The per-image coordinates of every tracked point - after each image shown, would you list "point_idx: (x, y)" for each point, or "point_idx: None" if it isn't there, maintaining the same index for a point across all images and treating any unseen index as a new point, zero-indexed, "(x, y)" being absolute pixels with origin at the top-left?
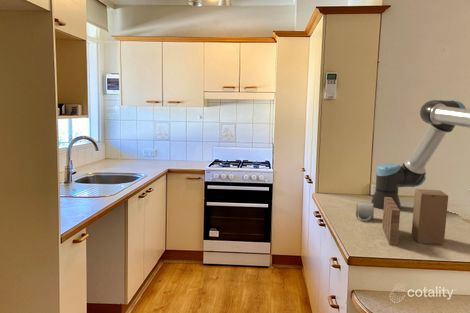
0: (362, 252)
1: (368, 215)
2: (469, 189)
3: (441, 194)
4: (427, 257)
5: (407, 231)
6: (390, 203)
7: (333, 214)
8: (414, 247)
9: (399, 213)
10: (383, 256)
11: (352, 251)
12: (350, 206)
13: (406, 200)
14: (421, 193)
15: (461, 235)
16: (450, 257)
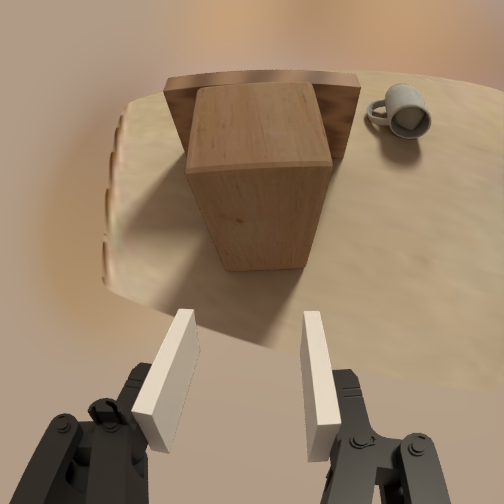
0: (141, 112)
1: (387, 116)
2: (309, 315)
3: (199, 146)
4: (121, 210)
5: (330, 196)
6: (256, 73)
7: (389, 80)
8: (183, 192)
9: (165, 96)
10: (123, 139)
11: (145, 101)
12: (477, 121)
13: None
14: (206, 87)
15: (354, 357)
16: (125, 261)
